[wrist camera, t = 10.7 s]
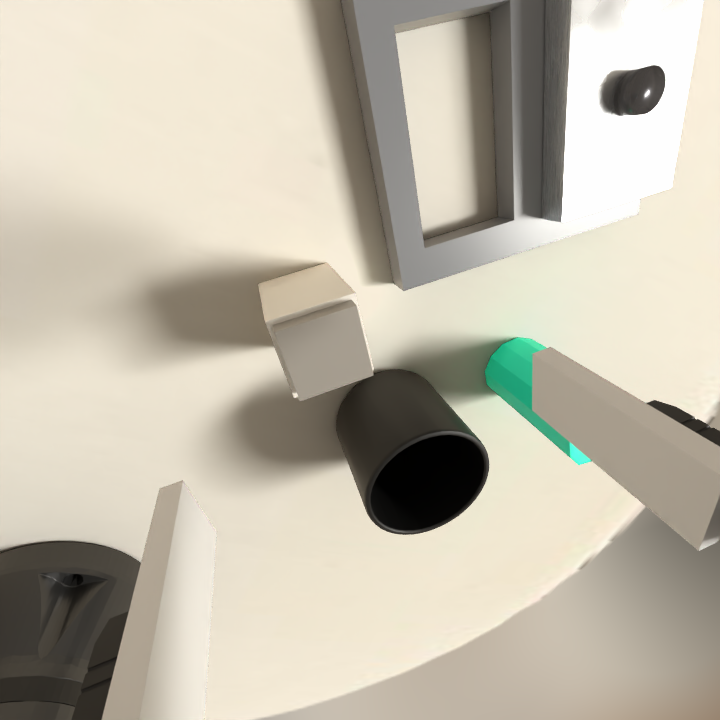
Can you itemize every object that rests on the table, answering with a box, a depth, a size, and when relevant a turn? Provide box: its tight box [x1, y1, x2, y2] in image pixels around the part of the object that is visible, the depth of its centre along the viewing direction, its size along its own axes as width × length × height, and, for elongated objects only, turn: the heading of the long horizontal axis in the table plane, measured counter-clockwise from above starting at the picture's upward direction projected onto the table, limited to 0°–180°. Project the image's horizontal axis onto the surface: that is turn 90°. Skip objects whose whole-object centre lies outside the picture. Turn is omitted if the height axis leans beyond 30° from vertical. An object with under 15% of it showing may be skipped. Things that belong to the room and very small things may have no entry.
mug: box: [336, 370, 489, 535], centre depth 31 cm, size 9×12×9 cm
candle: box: [485, 337, 592, 465], centre depth 31 cm, size 6×6×12 cm
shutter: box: [542, 0, 704, 222], centre depth 24 cm, size 9×13×3 cm
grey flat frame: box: [341, 0, 641, 291], centre depth 25 cm, size 20×17×2 cm
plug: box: [258, 263, 374, 401], centre depth 24 cm, size 5×5×8 cm
